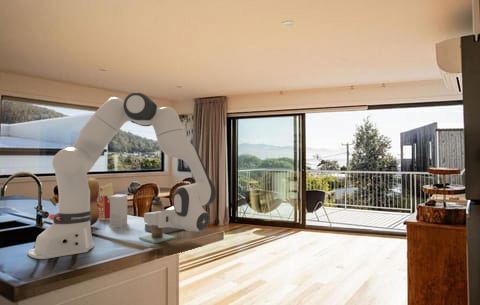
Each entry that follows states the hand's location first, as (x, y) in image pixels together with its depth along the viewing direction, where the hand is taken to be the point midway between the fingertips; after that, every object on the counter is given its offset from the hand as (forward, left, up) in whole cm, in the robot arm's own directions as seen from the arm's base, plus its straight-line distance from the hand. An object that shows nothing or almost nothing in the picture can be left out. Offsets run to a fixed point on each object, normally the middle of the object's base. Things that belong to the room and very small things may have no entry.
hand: (156, 213), depth 150 cm
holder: (+14, +11, -11) cm, 21 cm away
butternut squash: (-10, +45, -11) cm, 48 cm away
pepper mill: (0, -1, -10) cm, 10 cm away
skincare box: (+4, +37, -11) cm, 39 cm away
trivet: (0, -1, -11) cm, 11 cm away
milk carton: (+10, +60, -11) cm, 62 cm away
